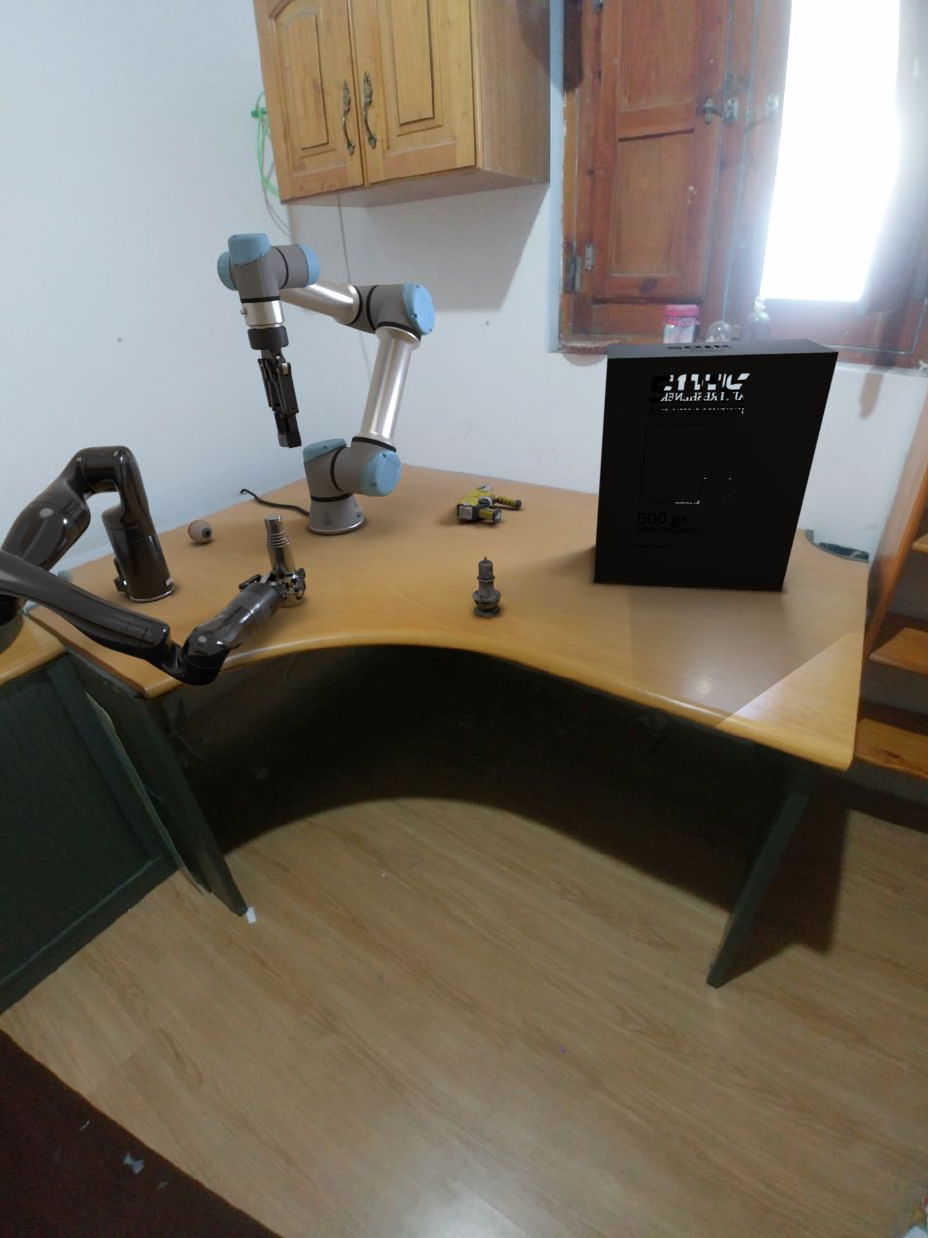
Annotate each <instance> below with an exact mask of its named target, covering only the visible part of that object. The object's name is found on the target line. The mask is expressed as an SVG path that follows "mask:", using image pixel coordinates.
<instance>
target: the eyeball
mask: <svg viewBox="0 0 928 1238" xmlns="http://www.w3.org/2000/svg"><path fill="white" fill-rule="evenodd" d="M187 534H188V537H189V538H190V539H191V540H192V541H193V542H196V543H198V544H199V543H201V544H202V543H207V542H208V541H209V540H211V538H212V536H213V527H212V526H211V524H210V523H209V522H207V521H205V520H201V519H197V520H193V521H192V522H191V523H190V524H189V525H188V527H187Z"/></svg>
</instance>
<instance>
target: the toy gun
mask: <svg viewBox="0 0 928 1238" xmlns="http://www.w3.org/2000/svg"><path fill="white" fill-rule="evenodd" d="M493 488H494V486H493V483H490V482H489V483H488V484H487V482H483V483H482V484H480V485H479V486H478V487H476V488H475V489H473V490H472V491H471V492H470V493H469V494H468V495H467V496H465V498H463V499H462V500H461V501H459V502H458V503H457V504H456V507H455V508H456V510H455V513H456V514H455V516H456V517H457V518H458V519H460V520H461V521H464V522H465V521H469V520H470V521H475V520H480V519H487V520H489V521H492V524H493V525H494V524H496V523H498V522H500V521H501V520H502V513H503V512H502V510H503V509H502V508H500V507H498V508H495V507H494V505H496V504H498V505H502V506H506V507H511V508H515V509H517V510H518V509H521V507H522V505H523V503H522V500H521V499H515V498H511V497H507V496H503V495H499V496H498V497H496V496H495V495H496V494H494V493H493V491H491V490H494V489H493Z"/></svg>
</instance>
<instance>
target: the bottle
mask: <svg viewBox="0 0 928 1238" xmlns="http://www.w3.org/2000/svg"><path fill="white" fill-rule="evenodd" d="M282 517H283V515H281V514H279V513H271V514H267V515H265V516H263V521H264V526H265V530H266V531H265V547H266V550H267V554H268V558H269V562H270V567H271V571H272V572H273V576H274V580H275V582H277V581H279V580H280V579H282V578H284V577H287V578H289V577H290V576H292V575H293V574H294V573H295V572H296V571H297V568H296V564H295V559H294V553H293V550H292V545H291V540H290V537H289V535H288V534H287V531H286V529H285V527H284V523H283V518H282ZM284 584H285V583H284ZM291 584H292V585H293V581H292V582H291ZM302 602H303V598H302V599H301V600H296V597H288V599H287V600H285V601H283V602H282V603H281V605H280V607H285V608H290V607H294V606H297V605H299V604H301V603H302Z"/></svg>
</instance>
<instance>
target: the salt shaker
mask: <svg viewBox="0 0 928 1238" xmlns="http://www.w3.org/2000/svg"><path fill="white" fill-rule="evenodd" d="M477 566H478V567H477V568H478V569H477V570H478V575H477V577H476V580H477V581H478V589H476V590H474V591H473V592H472V594H471V597H472V599H473V602H474V603H475V605H476V607H474V611H473V612H474V614H475V615H477V616H479V617H483V618H490V617H494V616H497V615H499V614H500V612H501V607H500V606H499V605H498V604H499V602H500V601H501V597H502V592H501V591H500V590H498V589H496V588H495V579H496V576H495V575H494V563H493V562H492V560H489V559H488V557H487V556H485V555H484V557H483V559H482V560H480V561H479V562H478V565H477Z"/></svg>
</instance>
